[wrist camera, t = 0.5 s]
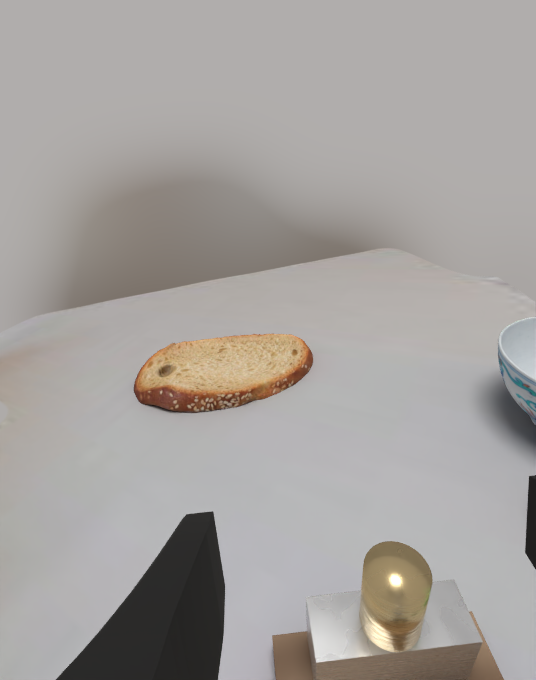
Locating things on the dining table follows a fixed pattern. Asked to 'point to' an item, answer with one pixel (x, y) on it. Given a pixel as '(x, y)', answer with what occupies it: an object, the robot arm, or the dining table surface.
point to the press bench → (297, 668)
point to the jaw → (392, 624)
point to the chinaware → (520, 363)
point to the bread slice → (222, 372)
